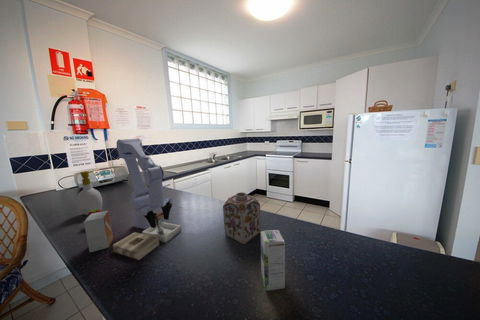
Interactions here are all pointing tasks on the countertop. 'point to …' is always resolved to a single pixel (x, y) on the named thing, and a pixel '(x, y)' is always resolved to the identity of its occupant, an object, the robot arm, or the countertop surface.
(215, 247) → the countertop surface
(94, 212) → the strawberry
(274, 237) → the syrup box
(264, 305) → the countertop surface
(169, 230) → the tray
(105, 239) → the small box
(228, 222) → the decorative jar
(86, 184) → the soap bottle
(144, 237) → the hitch block
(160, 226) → the pin
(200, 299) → the countertop surface
